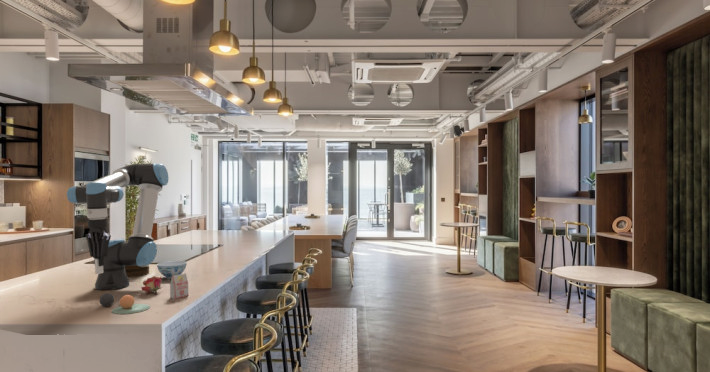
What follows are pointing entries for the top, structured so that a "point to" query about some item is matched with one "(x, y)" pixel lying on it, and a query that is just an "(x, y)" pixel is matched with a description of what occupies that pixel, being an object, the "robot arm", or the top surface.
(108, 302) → the dark grey ball
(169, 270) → the chinaware
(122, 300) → the object ball
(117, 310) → the green plate
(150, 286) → the flower
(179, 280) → the white paper snack bag
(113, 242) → the robot arm
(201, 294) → the top surface
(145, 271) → the wooden container
